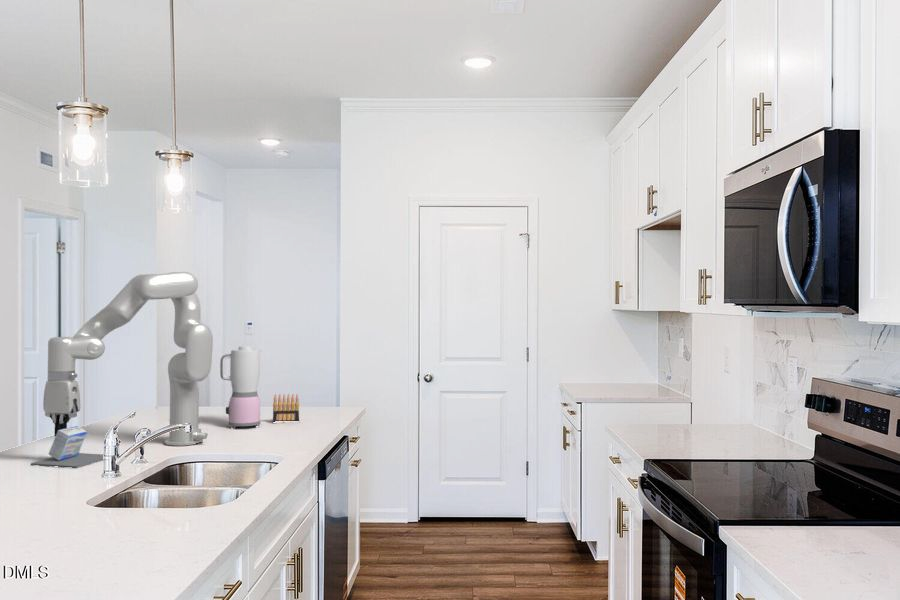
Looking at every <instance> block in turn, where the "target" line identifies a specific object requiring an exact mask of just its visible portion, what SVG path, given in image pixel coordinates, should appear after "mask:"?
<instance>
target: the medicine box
mask: <svg viewBox="0 0 900 600" xmlns="http://www.w3.org/2000/svg"><path fill="white" fill-rule="evenodd" d="M87 434H88V431H86V430H85V429H84V428H83V427H81V426H78V425H75V426H73V427H72V426H70V427H67V428H66V429H61V430H58V432H57V434H56V437H55V436H54V439H53V442H52V445H51V446H50V449H49V451H48V455H49V456H51V458H52V457H54V458H55V459H57V460H59V461H60V460H64V459H67V458H70V457H74V456H77V455H78V453H80V451H81V448H82V446H83V443H84V441H85V438H86V436H87Z"/></svg>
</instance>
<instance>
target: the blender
mask: <svg viewBox="0 0 900 600" xmlns="http://www.w3.org/2000/svg"><path fill="white" fill-rule="evenodd" d="M261 352H262V350H261V349H253V347H252V345H251V346H249V345H246V346H244V345H240V346H238V349H232V350H231V351H230V353H226V354H223V355H222V356H221V358H220V365H219V368H220V372H219V373H220V379H222V380H224V381H230V383H231V389H232V391H231V396H230V398H229V400H228V406H226V407H225V415H228V425H229V426H230V428H231V427H232V428H235V429H236V428H237V427H253V426H255V427H256V426H259V425H261V399H260V397H259V395H258V387H259V380H260V373H261V372H260V369H261V368H260V365H261V360H260V359H261V358H260V353H261ZM226 359H230V362H229V363H230V365H229V367H230V371H229V374H230V376H229V375H226ZM259 427H260V426H259Z"/></svg>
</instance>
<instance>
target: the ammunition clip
mask: <svg viewBox="0 0 900 600" xmlns="http://www.w3.org/2000/svg"><path fill="white" fill-rule="evenodd" d="M272 408H273V409H272V423H273V422H275V421H299V422H300V398H299V394H298V393H296V395H294V393H292V394H291V396H290V394H289V393H288V394H287V398H286V394H285V393H284V394H283V396H282V395H281V393H279V394H278V396H277V394H276V393H275V394H274V396H273V405H272Z"/></svg>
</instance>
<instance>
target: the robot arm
mask: <svg viewBox="0 0 900 600" xmlns="http://www.w3.org/2000/svg"><path fill="white" fill-rule="evenodd" d="M198 287H199V281H198V279H197V277H196V276H195V275H194V274H193V273H191V272H188V271H175V272H174V271H173V272H168V273H167V272H166V273H150V274H149V273H148V274H138V275H136V276H134V277H132V278H131V279H130V280H129V281H128V283H126V284H125V286H124V287H123V288H122V289H121V290H120V291H119V292H118V293H117V294H116V295H115V296H114V297H113V299H112V300H111V301H110V302H109V303H107V305H106V306H105V307H104V308H102V309H101V310H100V311H98V313H96V314H95V315H94V316H92V317H91V318H90V319H89V320H87V321H86V322H85V323H84V324H83V325H82V327H80V328H79V330H78V331H77V332H76V333H75V334H74V335H73V336H72V337H70V336H54V337H51V338H49V340H48V343H47V380H46V381H45V385H44V391H43V402H42V403H43V405H42V409H43V412H44V416H45V417H47V418H50V419H51V420H52V423H53V425H54V438H55V437H56V434H57V432H58V430H61V429H66V428H68V423H69V422H70V420H71V419H73V418H77V417H78V413H79V412H80V411H81V394H80V387H79V382H78V380H76V378H78V374H77V373H76V360H89V361H91V360H96V359H99V358H100V357H102V356H103V354H104V353H105V350H106V345H105V343H104V340H103V339H104V337H106V336H107V335H108V334H110V333H111V332H113V331H115V330H116V329H119V328H121V327H123V326H125V325H127V324H128V323H130V321H131V320H133V319H134V317H135V316H136V315H137V314H138V313H139V312H140V311H141V309H142V308H143V307H144V306H145V305H146V303H148V302H149V300H150V301H151V300H152V301H153V300H168V299H170V300H171V302H172V303H173V306H174V325H173V327H174V328H173V342H174V344H175V346H177V347H178V348H181V349H183V350H185V352H178V353H176V354H175V355H173V356H172V357H171V358H170V359H169V362H168V365H167V375H168V380H169V426H170V425H172V424H177V423H191V424H192V426H193V430H192V432H191V433H186V432H185V431H184V430H183V429H179V430H175V431H171V432H170V431H169V434H168V435H169V438H166V439H164V445H167V446H176V447H177V446H183V447H184V446H193V445H197V444H196V443H198V444H200V443H199V442H201V443H203V442H202V441H204V440H206V439H207V438H208V435H209V434H208V433H207V432H202V428H199V411H200V410H199V407H200V406H199V403H200V402H199V397H200V391H199V390H200V389H199V383H198V382H203V381H204V380H206V378H208V376H209V375H210V373H211V370H212V365H213V364H212V361H213V359H212V358H213V345H214V344H213V343H214V339H213V332H212V331H211V328H210V326H208V325H207V324H205V323H202V322H201V302H200V299H199V297H198V295H197V293H196V292H197V290H198Z"/></svg>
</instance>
